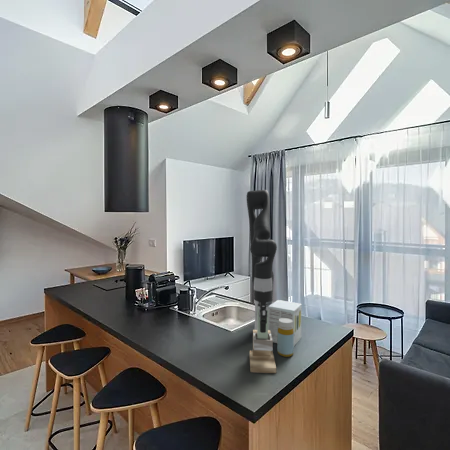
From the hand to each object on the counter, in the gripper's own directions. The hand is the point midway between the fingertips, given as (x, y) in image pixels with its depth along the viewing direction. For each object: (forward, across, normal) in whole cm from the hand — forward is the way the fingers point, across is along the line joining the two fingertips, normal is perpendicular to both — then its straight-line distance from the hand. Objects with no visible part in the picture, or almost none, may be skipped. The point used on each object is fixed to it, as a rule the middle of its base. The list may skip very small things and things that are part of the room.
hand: (262, 329), depth 117 cm
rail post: (+3, 0, 0) cm, 3 cm away
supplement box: (+15, -26, +13) cm, 33 cm away
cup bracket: (+15, -1, 0) cm, 15 cm away
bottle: (+15, -11, +11) cm, 22 cm away
